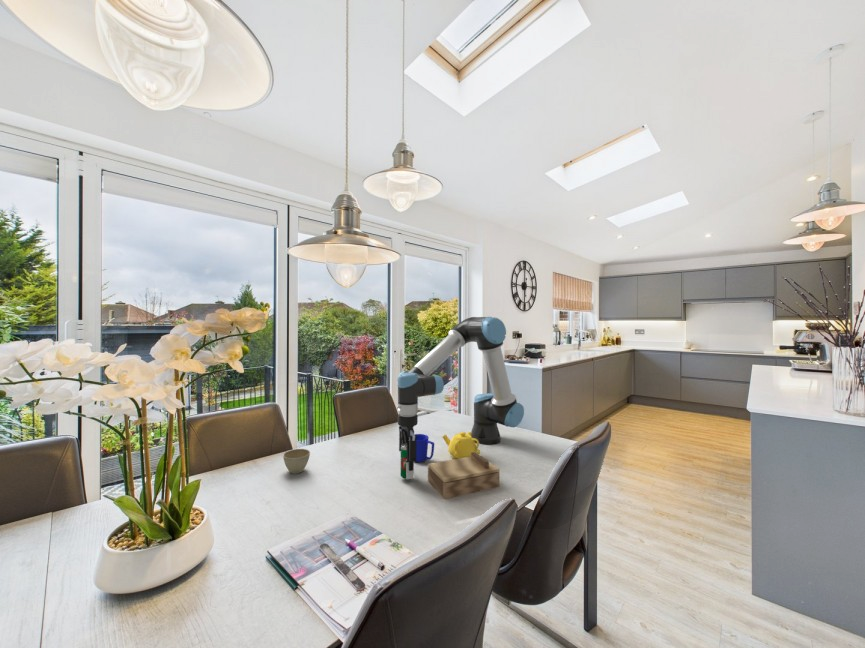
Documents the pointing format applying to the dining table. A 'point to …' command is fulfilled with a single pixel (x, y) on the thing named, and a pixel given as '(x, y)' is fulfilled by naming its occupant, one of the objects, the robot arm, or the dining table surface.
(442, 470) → the lid
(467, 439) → the teapot
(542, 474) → the dining table surface
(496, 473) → the open wooden box
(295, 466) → the flower pot
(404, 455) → the soda can
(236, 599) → the dining table surface
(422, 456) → the mug
